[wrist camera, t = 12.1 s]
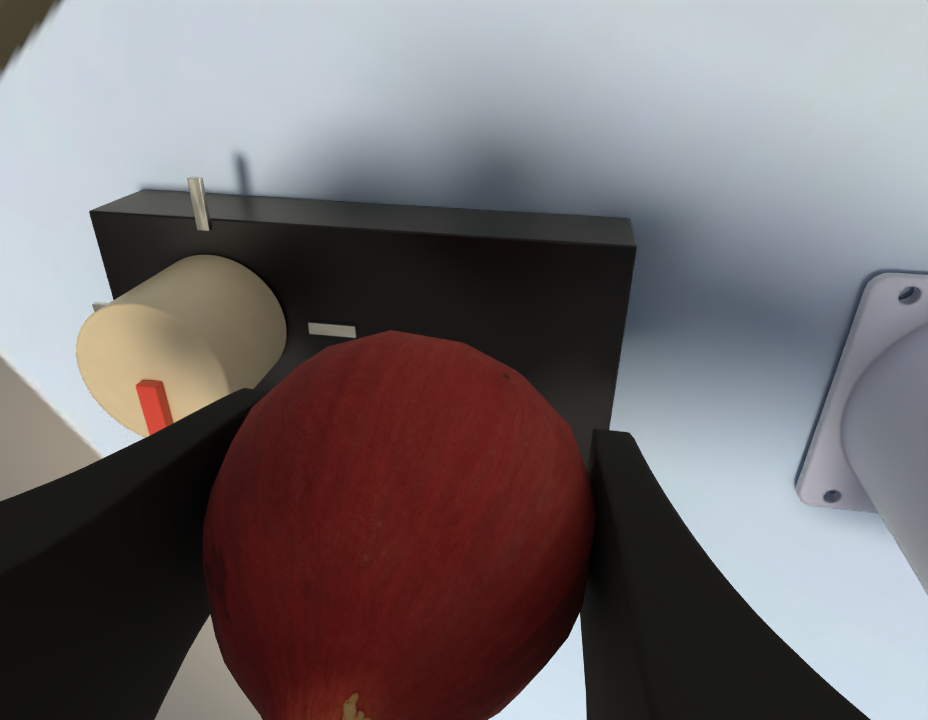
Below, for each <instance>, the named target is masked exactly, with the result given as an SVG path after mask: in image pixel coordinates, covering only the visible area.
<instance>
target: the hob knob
mask: <svg viewBox="0 0 928 720" xmlns="http://www.w3.org/2000/svg"><path fill="white" fill-rule="evenodd" d="M286 333H287V332H286V322H285V318H284V314H283V311H282V309H281V306H280V304H279V302H278V300H277V299H276V297H275V295H274V294H273V292H272V291H271V290H270V288H269V287H268V286H267V285H266V284H265V283H264V282H263V281H262V280H261V278H260V277H258V276H257V275H256V274H255V273H253V272H252V271H251V270H249V269H248V268H246V267H245V266H243V265H241V264H239V263H237V262H235V261H233V260H230V259H227V258H224V257H220V256H214V255H195V256H190V257H187V258H184V259H182V260H180V261H178V262H176V263H174V264H173V265H171V266H169V267H168V268H166V269H164V270H163V271H161V272H159V273H158V274H156V275H155V276H153V277H151V278H150V279H148V280H146V281H145V282H143V283H141V284H140V285H138V286H136V287H135V288H133V289H132V290H130V291H128V292H127V293H125V294H123V295H122V296H120V297H118V298H117V299H115V300H114V301H112V302H110V303H109V304H107V305H105V306H104V307H102V308H100V309H99V310H97V311H96V312H94V313H93V314H92V315H90V317H89V318H88V319H87V320H86V321H85V323H84V324H83V326H82V328H81V329H80V332H79V335H78V338H77V344H76V356H77V363H78V367H79V370H80V373H81V376H82V378H83V381H84V383H85V384H86V386H87V388H88V390H89V391H90V393H91V394H92V396H93V397H94V399H95V400H96V401H97V402H98V404H99V405H100V406H101V407H102V408H103V409H104V410H105V411H106V412H107V413H108V414H109V415H110V416H111V417H113V418H114V419H115V420H116V421H117V422H119V423H120V424H122V425H123V426H124V427H126V428H128V429H129V430H131V431H133V432H135V433H137V434H139V435H141V436H143V437H148V436H150V435H152V434H154V433H156V432H157V431H159V430H161V429H163V428H165V427H167V426H169V425H171V424H173V423H175V422H176V421H178V420H180V419H182V418H184V417H186V416H188V415H190V414H192V413H194V412H195V411H197V410H199V409H201V408H203V407H205V406H207V405H209V404H211V403H213V402H215V401H217V400H218V399H220V398H223V397H225V396H227V395H229V394H231V393H233V392H235V391H238V390H240V389H242V388H249V389H254V388H255V387H256V386H257V384H258V383H259V382H260V381H261V380H262V379H263V378H264V376H265V375H266V374H267V373H268V372H269V371H270V370H271V368H272V367H273V366H274V365H275V364H276V363H277V362H278V360H279V359H280V357H281V355H282V353H283V350H284V348H285V343H286Z"/></svg>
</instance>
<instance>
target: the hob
mask: <svg viewBox="0 0 928 720" xmlns="http://www.w3.org/2000/svg"><path fill="white" fill-rule="evenodd" d="M187 180H188V185H189V190H190V193H188V192H171V191H154V190H141V191H138V192H136V193H133V194H131V195H128V196H126V197H123V198H121V199H118V200H116V201H113V202H111V203H108V204H106V205H103V206H101V207H98V208H96V209H93V210H91V211H89V213H90V217H91V220H92V224H93V228H94V231H95V235H96V238H97V242H98V246H99V249H100V253H101V256H102V260H103V264H104V267H105V271H106V274H107V278H108V282H109V285H110V289H111V292H112V296H113V300H115V299H117V298H118V297H120V296H122V295H123V294H125V293H127V292H128V291H130V290H132V289H133V288H135V287H136V286H138V285H140V284H141V283H143V282H145V281H146V280H148V279H150V278H151V277H153V276H155V275H156V274H158V273H159V272H161V271H163V270H164V269H166V268H168V267H169V266H171V265H173V264H174V263H176V262H178V261H180V260H182V259H184V258H187V257H190V256H195V255H214V256H220V257H224V258H227V259H230V260H233V261H235V262H237V263H239V264H241V265H243V266H245V267H246V268H248V269H249V270H251V271H252V272H253V273H255V274H256V275H257V276H258V277H260V278H261V280H262V281H263V282H264V283H265V284H266V285H267V286H268V287H269V288H270V290H271V291H272V292H273V294H274V295H275V297H276V299H277V300H278V302H279V304H280V306H281V309H282V311H283V314H284V318H285V322H286V332H287V333H286V343H285V348H284V350H283V353H282V355H281V357H280V359H279V360H278V362H277V363H276V364H275V365H274V366H273V367H272V368H271V370H270V371H269V372H268V373H267V374H266V375H265V376H264V378H263V379H262V380H261V381H260V382H259V383H258V384H257V386H256V387H255V388H254V389H258V390H267V391H271V390H272V389H273V388H274V387H275V386H276V385H277V384H279V383H280V382H281V381H282V380H283V379H284V378H285V377H286V376H288V375H289V374H290V373H291V372H292V371H293V370H294V369H295V368H297V367H298V366H299V365H300V364H302V363H303V362H305V361H307V360H308V359H310V358H311V357H313V356H314V355H316V354H317V353H319V352H320V351H322V350H323V349H325V348H326V347H328V346H332V345H336V344H340V343H344V342H347V341H351V340H355V339H359V338H363V337H367V336H370V335H374V334H378V333H382V332H386V331H390V330H393V331H399V332H405V333H411V334H417V335H422V336H428V337H434V338H440V339H446V340H451V341H457V342H462V343H465V344H467V345H469V346H471V347H473V348H475V349H477V350H478V351H480V352H482V353H484V354H486V355H488V356H490V357H492V358H493V359H495V360H497V361H499V362H501V363H503V364H505V365H506V366H508V367H510V368H512V369H514V370H516V371H517V372H519V373H520V374H521V375H522V376H524V377H525V378H526V379H527V380H528V381H529V382H530V384H531V385H532V386H533V387H534V388H535V389H536V390H537V391H538V392H539V393H540V394H541V395H542V396H543V397H544V399H545V400H546V401H547V402H548V403H549V404H550V405H551V406H552V407H553V408H554V409H555V410H556V411H557V413H558V414H559V415H560V416H561V417H562V418H563V419H564V420H565V421H566V422H567V423H568V424H569V425H570V427H571V429H572V432H573V435H574V437H575V440H576V443H577V445H578V448H579V451H580V454H581V456H582V459H583V462H584V465H585V467H586V470H587V465H588V459H589V452H590V446H591V439H592V433H593V428H594V429H602V430H609V427H610V420H611V414H612V407H613V401H614V394H615V388H616V381H617V375H618V368H619V362H620V355H621V349H622V342H623V335H624V329H625V322H626V316H627V309H628V303H629V296H630V290H631V283H632V277H633V270H634V264H635V257H636V251H637V246H636V242H635V238H634V233H633V229H632V225H631V221H630V219H629V218H612V217H595V216H578V215H561V214H544V213H527V212H510V211H493V210H476V209H459V208H442V207H425V206H408V205H391V204H375V203H358V202H341V201H324V200H307V199H290V198H273V197H256V196H239V195H222V194H205V188H204V183H203V178H199V177H189V178H187ZM107 304H109V303H99V302H95V303H93V304H92V305H93V308H94V311H95V312H96V311H97V310H99V309H100V308H102V307H104V306H105V305H107Z"/></svg>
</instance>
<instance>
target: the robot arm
mask: <svg viewBox="0 0 928 720" xmlns="http://www.w3.org/2000/svg"><path fill="white" fill-rule="evenodd" d="M908 287H914V292H913V293H912V295H911V296H909V297H907V298H906V299H899V295H900V293H901V292H902V291H903V290H904V289H906V288H908ZM269 392H270V391H267V390H258V389H249V388H242V389H240V390H238V391H235V392H233V393H231V394H229V395H227V396H225V397H223V398H220V399H218V400H217V401H215V402H213V403H211V404H209V405H207V406H205V407H203V408H201V409H199V410H197V411H195V412H194V413H192V414H190V415H188V416H186V417H184V418H182V419H180V420H178V421H176V422H175V423H173V424H171V425H169V426H167V427H165V428H163V429H161V430H159V431H157V432H156V433H154V434H152V435H150V436H148V437H146V438H144V439H142V440H140V441H138V442H136V443H134V444H132V445H130V446H128V447H126V448H124V449H121V450H119V451H117V452H115V453H113V454H111V455H109V456H107V457H105V458H103V459H101V460H99V461H97V462H95V463H93V464H90V465H88V466H86V467H84V468H82V469H80V470H77V471H75V472H73V473H70V474H68V475H66V476H64V477H61V478H59V479H56V480H54V481H52V482H49V483H47V484H44V485H42V486H39V487H37V488H34V489H32V490H29V491H26V492H24V493H21V494H19V495H16V496H14V497H11V498H8V499H6V500H3V501H0V720H154V719H155V717H156V715H157V713H158V711H159V709H160V706H161V704H162V702H163V700H164V698H165V696H166V694H167V692H168V690H169V688H170V686H171V684H172V682H173V680H174V678H175V676H176V674H177V672H178V670H179V668H180V666H181V664H182V662H183V660H184V658H185V656H186V654H187V652H188V650H189V648H190V647H191V645H192V644H193V642H194V640H195V638H196V637H197V635H198V633H199V631H200V630H201V628H202V626H203V625H204V623H205V622H206V620H207V618H208V617H209V615H210V609H209V602H208V595H207V588H206V581H205V574H204V567H203V524H204V519H205V514H206V510H207V505H208V500H209V496H210V491H211V488H212V486H213V484H214V481H215V479H216V477H217V475H218V472H219V470H220V468H221V465H222V463H223V461H224V458H225V456H226V454H227V452H228V449H229V447H230V445H231V442H232V440H233V439H234V437H235V435H236V434H237V432H238V430H239V429H240V427H241V425H242V424H243V422H244V420H245V419H246V417H247V415H248V414H249V412H250V410H251V409H252V407H253V406H254V405H255V404H256V403H257V402H258V401H260V400H261V399H262V398H263V397H264V396H265V395H266V394H267V393H269ZM587 473H588V476H589V478H590V483H591V488H592V494H593V499H594V505H595V510H596V524H595V531H594V537H593V544H592V551H591V557H590V564H589V570H588V577H587V584H586V590H585V597H584V603H583V606H582V609H581V611H580V618H581V632H582V645H583V659H584V673H585V686H586V709H587V720H870V719H869V718H868V717H867V716H866V715H865V714H863V713H862V712H861V711H860V710H859V709H857V708H856V707H855V706H854V705H853V704H852V703H850V702H849V701H848V700H847V699H846V698H844V697H843V696H842V695H841V694H840V693H839V692H838V691H836V690H835V689H834V688H833V687H832V686H831V685H830V684H829V683H828V682H826V681H825V680H824V679H823V678H822V677H821V676H820V675H819V674H818V673H816V672H815V671H814V670H813V669H812V668H811V667H810V666H809V665H808V664H807V663H806V662H805V661H804V660H803V659H802V658H801V657H800V656H799V655H798V654H797V653H796V652H795V651H794V650H793V649H791V648H790V647H789V646H788V645H787V644H786V643H785V642H784V641H783V640H782V639H781V638H780V637H779V636H778V635H777V634H776V633H775V632H774V631H773V630H772V629H771V628H770V627H769V626H768V625H767V624H766V623H765V622H764V621H763V620H762V619H761V618H760V617H759V616H758V615H757V613H756V612H755V611H754V610H753V609H752V608H751V607H750V606H749V605H748V603H747V602H746V601H745V600H744V599H743V598H742V597H741V595H740V594H739V593H738V592H737V591H736V590H735V589H734V587H733V586H732V585H731V584H730V583H729V581H728V580H727V579H726V578H725V577H724V575H723V574H722V573H721V572H720V570H719V569H718V568H717V567H716V565H715V564H714V563H713V562H712V560H711V559H710V558H709V556H708V555H707V554H706V552H705V551H704V550H703V548H702V547H701V546H700V544H699V543H698V542H697V540H696V539H695V538H694V536H693V535H692V533H691V532H690V531H689V529H688V528H687V526H686V525H685V523H684V522H683V520H682V519H681V517H680V516H679V514H678V513H677V511H676V510H675V508H674V507H673V505H672V504H671V502H670V501H669V499H668V498H667V496H666V495H665V493H664V491H663V490H662V488H661V486H660V485H659V483H658V481H657V480H656V478H655V476H654V475H653V473H652V471H651V469H650V468H649V466H648V464H647V462H646V460H645V459H644V457H643V455H642V453H641V451H640V449H639V447H638V445H637V443H636V441H635V439H634V438H633V437H632V435H631V434H630V433H628V432H620V431H611V430H602V429H594V428H593V433H592V439H591V446H590V452H589V459H588V465H587ZM831 490H836V491H835V492H834V493H833V494H830V495H824V494H825V493H826V492H828V491H831ZM796 492H797V494H798V497H799V499H800V500H801V501H802V502H803V503H804V504H807V505H811V506H819V507H828V508H836V509H845V510H854V511H862V512H871V513H879V514H880V516H881V518H882V519H883V521H884V523H885V524H886V526H887V528H888V529H889V531H890V533H891V534H892V536H893V538H894V539H895V541H896V543H897V544H898V546H899V548H900V549H901V551H902V553H903V554H904V556H905V558H906V560H907V561H908V563H909V565H910V566H911V568H912V570H913V571H914V573H915V575H916V576H917V578H918V580H919V581H920V583H921V585H922V586H923V588H924V590H925V591H926V593H927V595H928V275H921V274H906V273H882V274H880V275H877V276H875V277H874V278H873V279H871V280H870V281H869V282H868V284H867V285H866V287H865V289H864V292H863V295H862V298H861V301H860V304H859V306H858V309H857V312H856V315H855V318H854V321H853V324H852V327H851V330H850V332H849V335H848V338H847V341H846V344H845V347H844V350H843V353H842V355H841V358H840V361H839V364H838V367H837V370H836V373H835V376H834V379H833V381H832V384H831V387H830V390H829V393H828V396H827V399H826V402H825V404H824V407H823V410H822V413H821V416H820V419H819V422H818V425H817V427H816V430H815V433H814V436H813V439H812V442H811V445H810V448H809V451H808V453H807V456H806V459H805V462H804V465H803V468H802V471H801V474H800V476H799V479H798V482H797V485H796Z"/></svg>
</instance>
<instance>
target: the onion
mask: <svg viewBox="0 0 928 720" xmlns="http://www.w3.org/2000/svg"><path fill="white" fill-rule="evenodd" d="M595 524H596V510H595V505H594V499H593V494H592V488H591V483H590V478H589V476H588V473H587V470H586V467H585V465H584V462H583V459H582V456H581V454H580V451H579V448H578V445H577V443H576V440H575V437H574V435H573V432H572V429H571V427H570V425H569V424H568V423H567V422H566V421H565V420H564V419H563V418H562V417H561V416H560V415H559V414H558V413H557V411H556V410H555V409H554V408H553V407H552V406H551V405H550V404H549V403H548V402H547V401H546V400H545V399H544V397H543V396H542V395H541V394H540V393H539V392H538V391H537V390H536V389H535V388H534V387H533V386H532V385H531V384H530V382H529V381H528V380H527V379H526V378H525V377H524V376H522V375H521V374H520V373H519V372H517V371H516V370H514V369H512V368H510V367H508V366H506V365H505V364H503V363H501V362H499V361H497V360H495V359H493V358H492V357H490V356H488V355H486V354H484V353H482V352H480V351H478V350H477V349H475V348H473V347H471V346H469V345H467V344H465V343H462V342H457V341H451V340H446V339H440V338H434V337H428V336H422V335H417V334H411V333H405V332H399V331H393V330H390V331H386V332H382V333H378V334H374V335H370V336H367V337H363V338H359V339H355V340H351V341H347V342H344V343H340V344H336V345H332V346H328V347H326V348H325V349H323V350H322V351H320V352H319V353H317V354H316V355H314V356H313V357H311V358H310V359H308V360H307V361H305V362H303V363H302V364H300V365H299V366H298V367H297V368H295V369H294V370H293V371H292V372H291V373H290V374H289V375H288V376H286V377H285V378H284V379H283V380H282V381H281V382H280V383H279V384H277V385H276V386H275V387H274V388H273V389H272V390H271V391H270V392H269V393H267V394H266V395H265V396H264V397H263V398H262V399H261V400H260V401H258V402H257V403H256V404H255V405H254V406H253V407H252V409H251V410H250V412H249V414H248V415H247V417H246V419H245V420H244V422H243V424H242V425H241V427H240V429H239V430H238V432H237V434H236V435H235V437H234V439H233V440H232V442H231V445H230V447H229V449H228V452H227V454H226V456H225V458H224V461H223V463H222V465H221V468H220V470H219V472H218V475H217V477H216V479H215V481H214V484H213V486H212V488H211V491H210V496H209V500H208V505H207V510H206V514H205V519H204V524H203V567H204V574H205V581H206V588H207V595H208V602H209V609H210V614H211V618H212V623H213V628H214V632H215V637H216V639H217V642H218V645H219V648H220V651H221V654H222V657H223V660H224V662H225V664H226V666H227V668H228V669H229V671H230V672H231V674H232V676H233V677H234V679H235V680H236V682H237V684H238V685H239V687H240V688H241V689H242V691H243V692H244V694H245V695H246V696H247V698H248V699H249V700H250V702H251V703H252V705H253V706H254V707H255V709H256V710H257V711H258V713H259V714H260V715H261V717H262V719H263V720H488V719H490V718H491V717H493V716H495V715H496V714H498V713H500V712H501V711H502V710H503V709H504V708H505V707H506V706H507V705H508V704H509V703H510V702H511V701H512V700H513V699H514V698H515V697H516V696H517V695H518V694H519V693H520V692H521V691H522V690H523V689H524V688H525V687H526V686H527V685H528V684H529V683H530V682H531V680H532V679H533V678H534V677H535V676H536V675H537V674H538V673H539V672H540V671H541V670H542V669H543V667H544V666H545V665H546V664H547V663H548V662H549V660H550V659H551V658H552V657H553V656H554V654H555V653H556V652H557V651H558V649H559V648H560V647H561V646H562V644H563V643H564V642H565V641H566V639H567V638H568V636H569V634H570V632H571V630H572V628H573V626H574V624H575V621H576V619H577V617H578V615H579V613H580V611H581V609H582V606H583V603H584V597H585V590H586V584H587V577H588V570H589V564H590V557H591V551H592V544H593V537H594V531H595Z"/></svg>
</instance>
